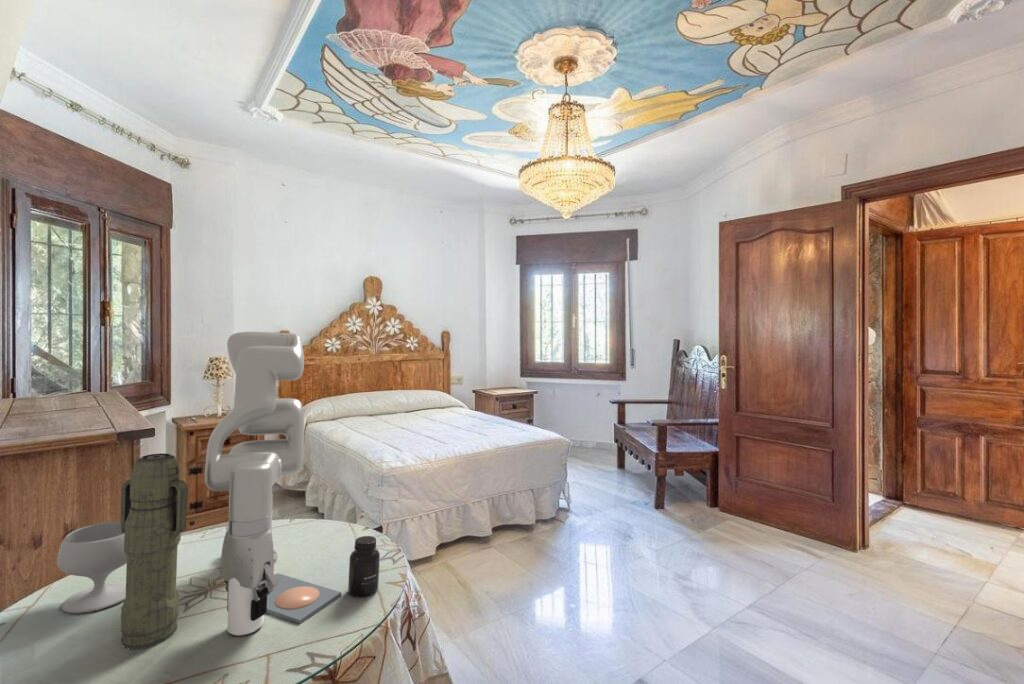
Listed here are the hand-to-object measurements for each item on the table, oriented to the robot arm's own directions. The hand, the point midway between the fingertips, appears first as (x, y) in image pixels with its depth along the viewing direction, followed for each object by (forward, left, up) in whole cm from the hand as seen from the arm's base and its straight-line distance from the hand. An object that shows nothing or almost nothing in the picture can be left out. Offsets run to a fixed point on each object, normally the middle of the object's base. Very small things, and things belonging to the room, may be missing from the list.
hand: (246, 611), depth 95 cm
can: (0, 0, -3) cm, 3 cm away
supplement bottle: (+11, +22, -4) cm, 25 cm away
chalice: (-38, -6, -4) cm, 38 cm away
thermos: (-15, -9, -4) cm, 18 cm away
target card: (-2, +12, -3) cm, 12 cm away
